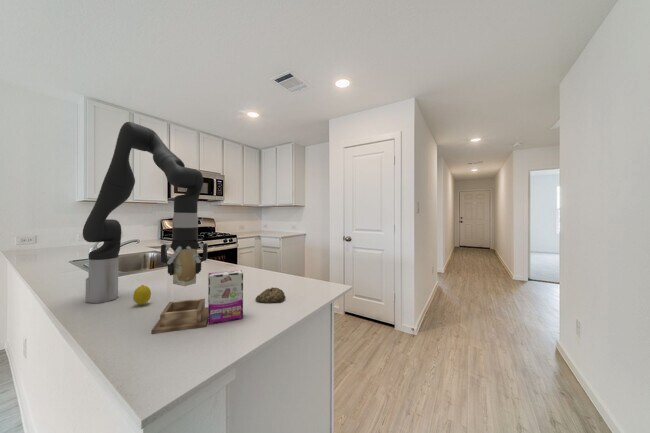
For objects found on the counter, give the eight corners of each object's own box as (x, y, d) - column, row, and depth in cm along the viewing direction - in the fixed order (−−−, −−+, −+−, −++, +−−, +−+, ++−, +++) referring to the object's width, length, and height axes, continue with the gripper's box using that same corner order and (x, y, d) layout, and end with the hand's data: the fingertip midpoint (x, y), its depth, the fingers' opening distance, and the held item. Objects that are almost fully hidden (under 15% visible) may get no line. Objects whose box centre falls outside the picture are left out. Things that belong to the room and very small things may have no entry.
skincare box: (172, 284, 83) (172, 248, 82) (183, 281, 87) (184, 246, 86) (185, 286, 80) (186, 249, 80) (197, 283, 84) (197, 248, 84)
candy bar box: (241, 313, 90) (241, 269, 90) (243, 319, 86) (243, 272, 85) (207, 319, 85) (208, 272, 85) (207, 325, 80) (208, 275, 80)
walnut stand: (151, 333, 74) (151, 317, 74) (164, 314, 88) (164, 300, 88) (206, 326, 79) (206, 311, 79) (210, 309, 93) (210, 296, 93)
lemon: (141, 308, 93) (141, 287, 93) (129, 307, 94) (129, 286, 94) (154, 303, 98) (154, 283, 98) (142, 302, 99) (143, 282, 99)
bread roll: (282, 304, 100) (282, 292, 100) (252, 303, 101) (253, 291, 101) (288, 294, 113) (288, 283, 113) (261, 293, 114) (261, 283, 113)
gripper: (209, 225, 89) (208, 270, 89) (164, 225, 84) (163, 272, 84) (207, 226, 82) (206, 275, 82) (157, 226, 77) (156, 278, 77)
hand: (184, 274), depth 83 cm, fingers closed on skincare box, 7 cm apart
